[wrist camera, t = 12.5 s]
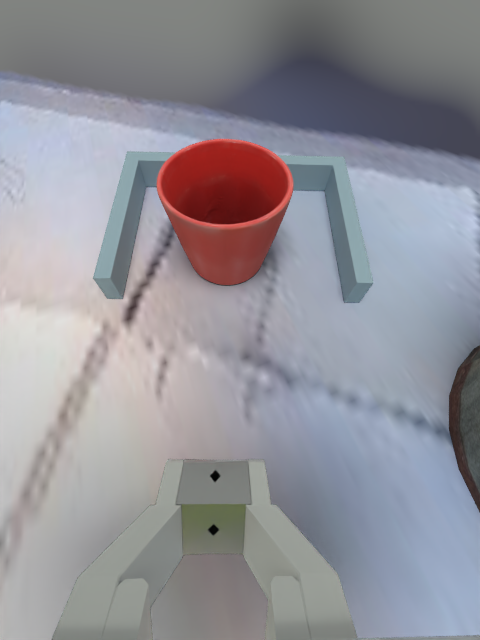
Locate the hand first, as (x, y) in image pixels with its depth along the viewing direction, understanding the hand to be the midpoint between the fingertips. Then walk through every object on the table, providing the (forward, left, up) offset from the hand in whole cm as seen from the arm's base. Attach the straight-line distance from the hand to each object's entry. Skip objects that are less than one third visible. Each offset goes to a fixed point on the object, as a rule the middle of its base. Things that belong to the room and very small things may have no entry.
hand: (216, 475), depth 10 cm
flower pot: (0, +21, -16) cm, 26 cm away
